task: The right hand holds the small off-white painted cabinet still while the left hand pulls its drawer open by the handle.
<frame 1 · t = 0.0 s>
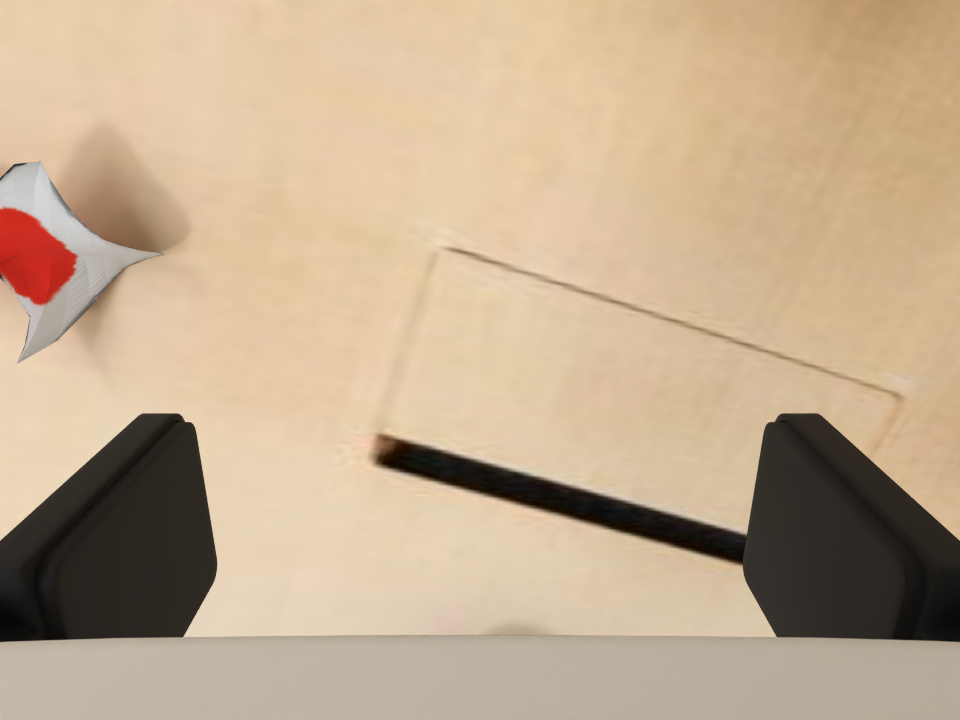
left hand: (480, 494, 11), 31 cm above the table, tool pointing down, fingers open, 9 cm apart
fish: (47, 230, 41), on the table
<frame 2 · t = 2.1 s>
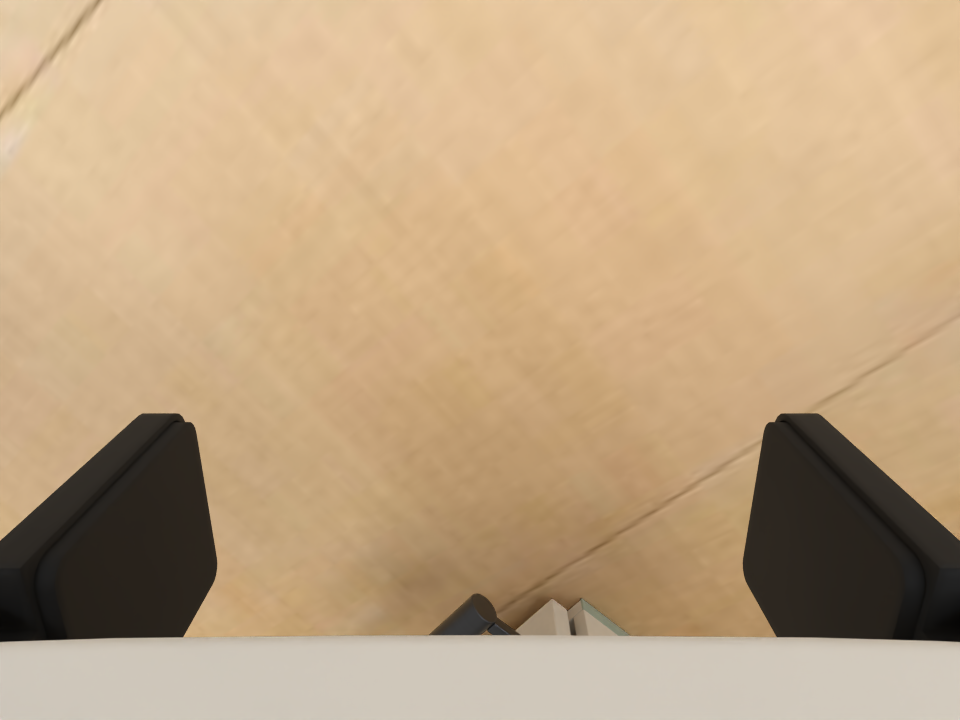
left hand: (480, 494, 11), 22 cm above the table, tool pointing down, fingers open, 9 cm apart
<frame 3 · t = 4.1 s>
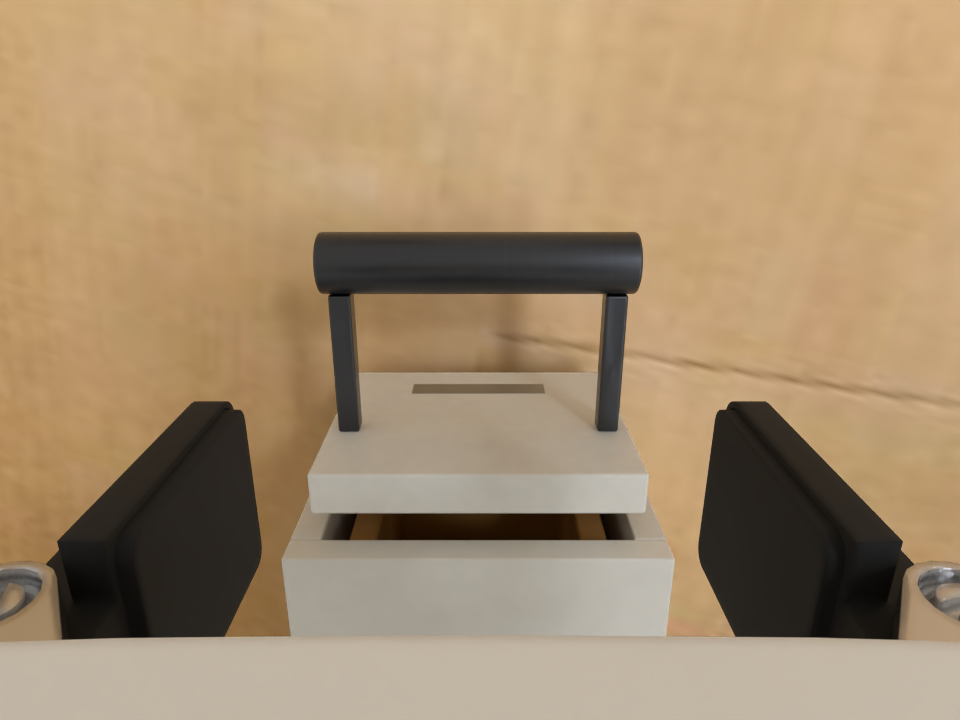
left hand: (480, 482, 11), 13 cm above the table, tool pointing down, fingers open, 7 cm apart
cabinet: (478, 600, 29), on the table, touching right hand
drawer: (478, 563, 23), point 5 cm above the table, slide at 0.7 cm
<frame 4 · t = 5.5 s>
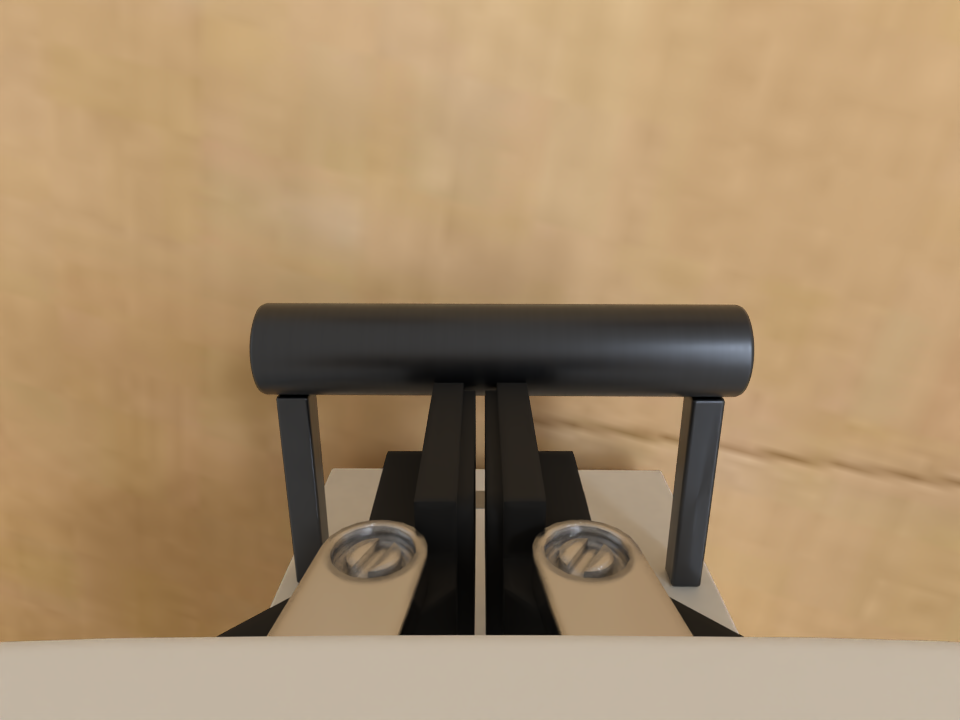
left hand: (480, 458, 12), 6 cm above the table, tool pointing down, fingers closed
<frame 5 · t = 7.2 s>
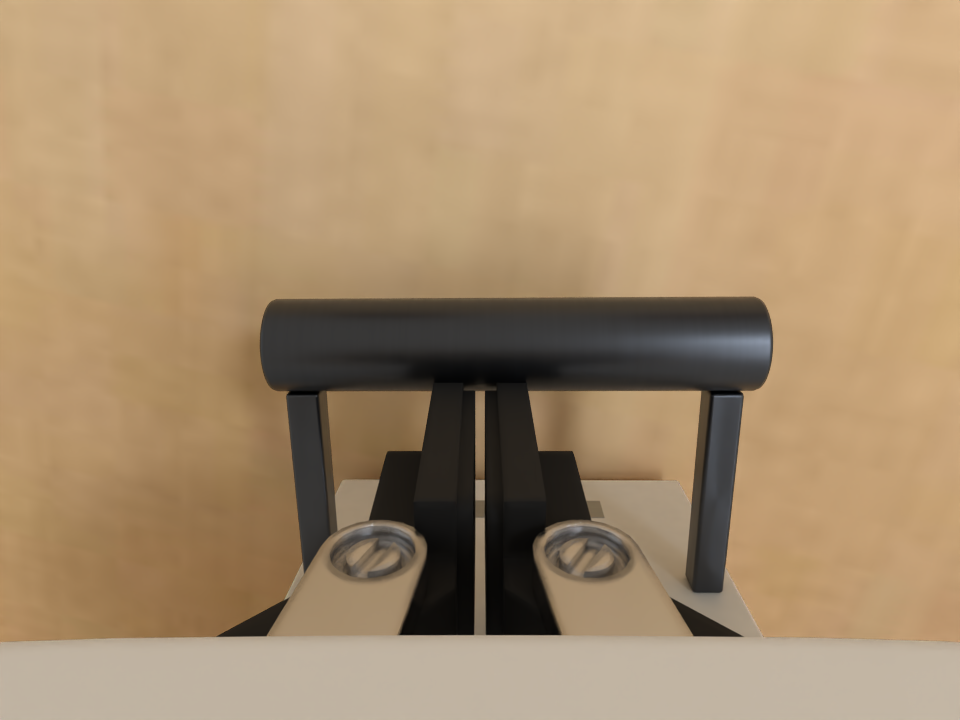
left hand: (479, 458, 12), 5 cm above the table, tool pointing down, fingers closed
when the right hand's fingers open (4 cm above the table, at t = 8.9 s): cabinet stays where it is, on the table.
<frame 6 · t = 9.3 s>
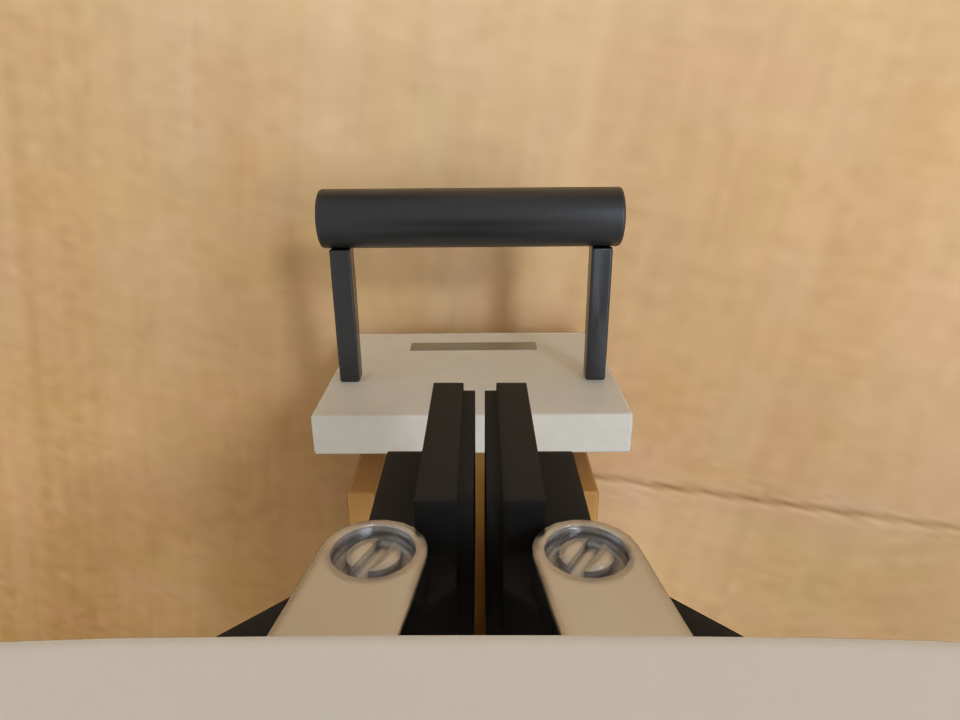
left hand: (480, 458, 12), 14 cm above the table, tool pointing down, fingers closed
drawer: (474, 513, 24), point 5 cm above the table, slide at 7.7 cm
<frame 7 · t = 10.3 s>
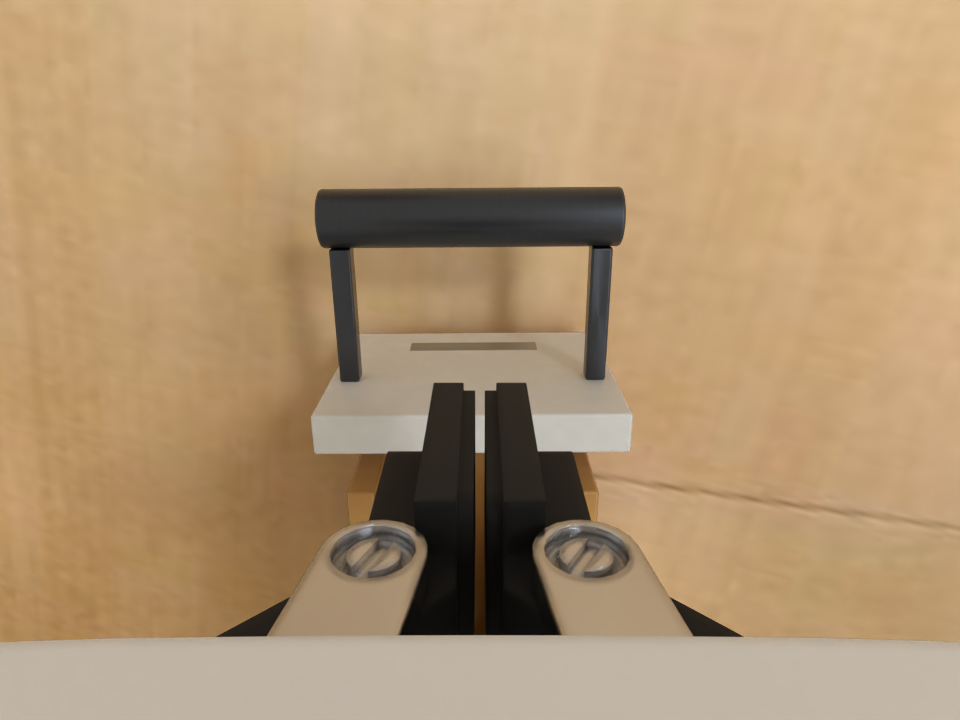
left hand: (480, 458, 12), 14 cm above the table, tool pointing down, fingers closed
drawer: (474, 513, 24), point 5 cm above the table, slide at 7.7 cm
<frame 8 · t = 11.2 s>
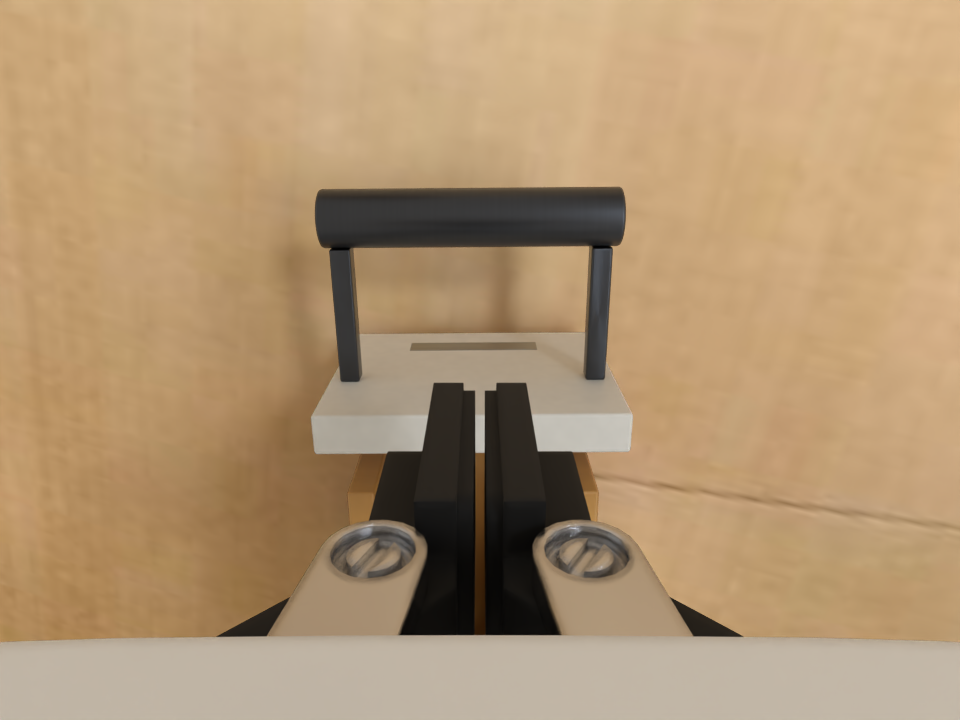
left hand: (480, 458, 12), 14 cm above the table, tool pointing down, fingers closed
drawer: (474, 513, 24), point 5 cm above the table, slide at 7.7 cm
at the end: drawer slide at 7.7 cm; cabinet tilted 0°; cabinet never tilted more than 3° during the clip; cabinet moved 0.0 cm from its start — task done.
